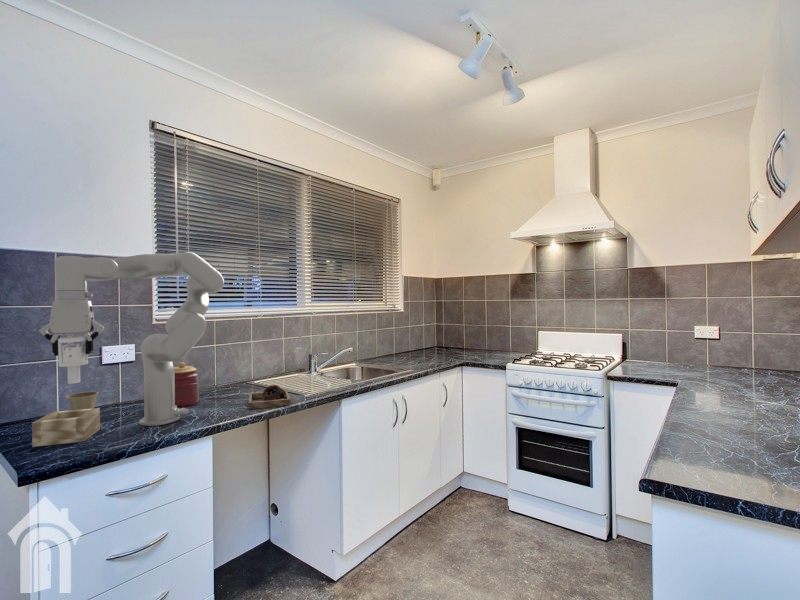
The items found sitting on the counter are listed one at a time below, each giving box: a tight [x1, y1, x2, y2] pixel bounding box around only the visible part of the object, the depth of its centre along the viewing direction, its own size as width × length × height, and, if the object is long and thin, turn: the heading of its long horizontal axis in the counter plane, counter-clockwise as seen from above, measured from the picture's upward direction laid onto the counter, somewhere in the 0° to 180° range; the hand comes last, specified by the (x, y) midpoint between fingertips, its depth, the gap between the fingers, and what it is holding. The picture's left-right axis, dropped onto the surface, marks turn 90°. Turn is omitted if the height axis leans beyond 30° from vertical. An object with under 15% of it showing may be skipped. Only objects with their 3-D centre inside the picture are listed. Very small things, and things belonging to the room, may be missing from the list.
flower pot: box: [66, 391, 99, 410], centre depth 152 cm, size 9×9×9 cm
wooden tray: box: [248, 389, 291, 410], centre depth 171 cm, size 16×18×2 cm
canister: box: [174, 361, 200, 408], centre depth 171 cm, size 13×13×18 cm
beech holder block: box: [31, 407, 101, 448], centre depth 129 cm, size 13×13×7 cm
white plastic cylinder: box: [57, 333, 89, 385], centre depth 123 cm, size 7×7×15 cm
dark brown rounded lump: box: [262, 384, 286, 401], centre depth 172 cm, size 12×10×8 cm
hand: (73, 354), depth 123 cm, fingers closed on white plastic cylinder, 7 cm apart
